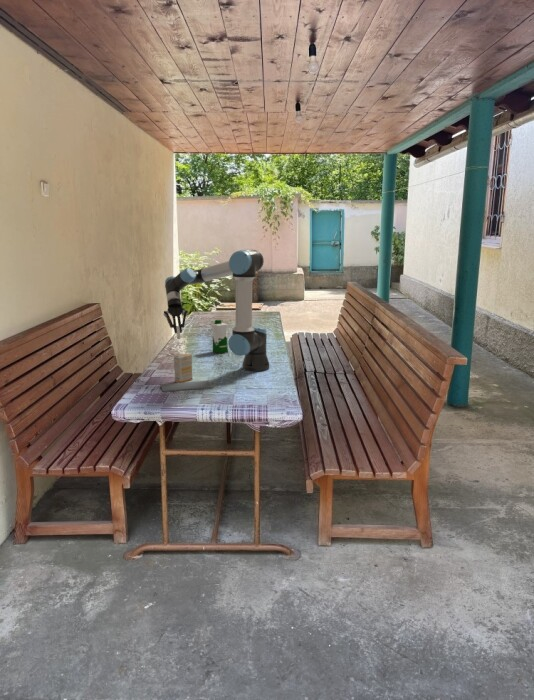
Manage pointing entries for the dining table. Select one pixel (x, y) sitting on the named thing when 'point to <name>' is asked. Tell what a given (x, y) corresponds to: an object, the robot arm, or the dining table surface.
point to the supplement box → (183, 368)
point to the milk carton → (220, 337)
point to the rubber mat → (186, 386)
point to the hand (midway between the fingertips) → (178, 337)
